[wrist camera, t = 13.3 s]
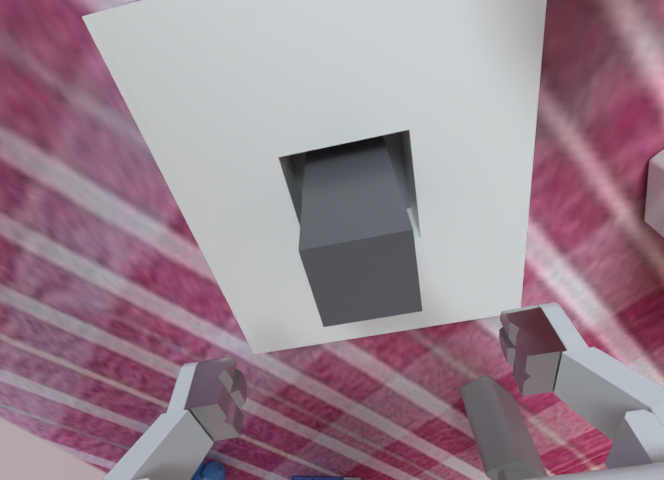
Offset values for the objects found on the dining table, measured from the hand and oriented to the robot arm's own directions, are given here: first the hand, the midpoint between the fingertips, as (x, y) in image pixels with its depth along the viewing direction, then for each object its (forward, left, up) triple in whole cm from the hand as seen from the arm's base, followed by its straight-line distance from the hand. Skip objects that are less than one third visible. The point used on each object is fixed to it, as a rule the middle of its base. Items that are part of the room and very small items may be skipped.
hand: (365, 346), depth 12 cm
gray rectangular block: (0, 0, -12) cm, 12 cm away
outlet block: (0, 0, -13) cm, 13 cm away
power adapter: (+25, +8, -13) cm, 30 cm away
